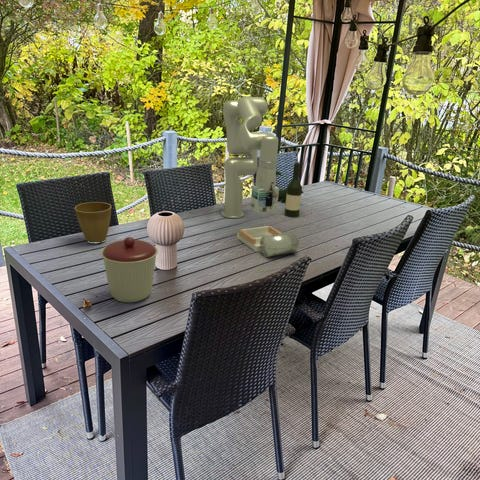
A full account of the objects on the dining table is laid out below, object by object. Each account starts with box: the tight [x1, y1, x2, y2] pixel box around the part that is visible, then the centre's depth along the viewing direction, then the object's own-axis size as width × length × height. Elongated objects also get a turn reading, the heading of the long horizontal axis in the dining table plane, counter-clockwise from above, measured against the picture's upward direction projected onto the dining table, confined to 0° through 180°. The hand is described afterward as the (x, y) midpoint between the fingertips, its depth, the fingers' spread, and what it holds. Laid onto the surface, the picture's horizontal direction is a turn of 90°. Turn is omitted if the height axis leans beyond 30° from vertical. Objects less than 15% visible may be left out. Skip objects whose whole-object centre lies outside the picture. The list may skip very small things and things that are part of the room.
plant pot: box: [74, 201, 112, 242], centre depth 183 cm, size 15×15×16 cm
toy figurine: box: [275, 170, 305, 203], centre depth 260 cm, size 9×19×25 cm
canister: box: [100, 236, 159, 303], centre depth 140 cm, size 18×18×21 cm
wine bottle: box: [284, 161, 303, 219], centre depth 232 cm, size 8×8×30 cm
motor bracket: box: [236, 225, 299, 258], centre depth 191 cm, size 28×18×9 cm, turn 29°
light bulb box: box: [250, 185, 280, 214], centre depth 189 cm, size 11×7×11 cm, turn 118°
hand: (264, 203), depth 190 cm, fingers closed on light bulb box, 6 cm apart
